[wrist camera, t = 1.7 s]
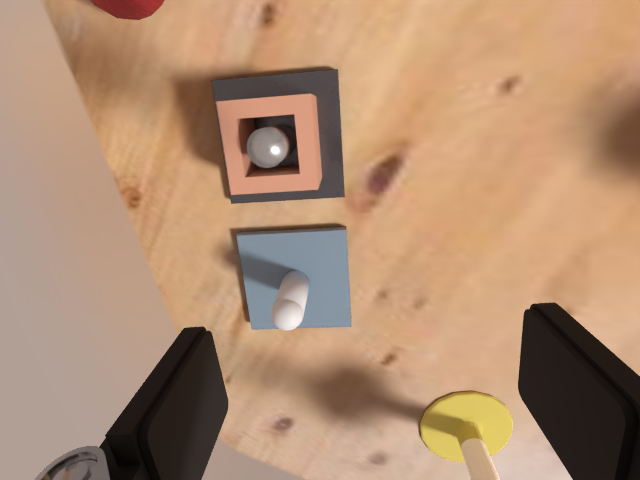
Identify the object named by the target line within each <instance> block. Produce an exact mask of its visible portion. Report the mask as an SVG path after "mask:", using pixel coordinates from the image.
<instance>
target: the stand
mask: <svg viewBox="0 0 640 480" xmlns="http://www.w3.org/2000/svg"><path fill="white" fill-rule="evenodd" d="M212 87H213V93H214V100H215V106H216V112H217V118H218V124H219V131H220V137H221V143H222V149H223V155H224V162H225V168H226V174H227V180H228V186H229V192H230V199H231V204H234V203H251V202H268V201H285V200H302V199H319V198H336V197H345V194H344V175H343V156H342V137H341V118H340V99H339V80H338V69H335V70H324V71H313V72H302V73H290V74H279V75H268V76H257V77H246V78H235V79H223V80H212ZM299 94H313V95H315V96H316V100H317V113H318V127H319V141H320V154H321V168H322V179H321V182H320V185H319V188H318V190H304V191H287V192H271V193H254V194H238V195H231V191H230V185H229V178H228V172H227V166H226V160H225V153H224V147H223V141H222V135H221V129H220V122H219V116H218V110H217V104H216V101H228V100H240V99H252V98H264V97H276V96H288V95H299ZM254 123H255V131H254V132H253V133H252V134H251V135H250V137H249V138H248V141H247V153H248V156H249V158H250V159H251V160H252V162H253V163H255V164H256V165H258V166H260V167H263V168H271V167H274V166H286V165H299V158H298V148H297V137H296V126H295V115H294V114H292V115H280V116H267V117H255V118H254Z"/></svg>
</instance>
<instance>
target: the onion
mask: <svg viewBox="0 0 640 480" xmlns="http://www.w3.org/2000/svg"><path fill="white" fill-rule="evenodd" d="M91 1H92V2H93V3H94V5H96V6H98V7H99V8H101V9H103V10H104V11H106V12H108V13H109V14H111V15H113V16H115V17H116V18H122V19H133V20H140V19H143V18H146V17H148V16H151V15H152V14H153V13H154V12H155V11H156V10H157V9H158V8H159V7H160V6H161V5H162V4H163V2H164V0H91Z"/></svg>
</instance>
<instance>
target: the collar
mask: <svg viewBox="0 0 640 480" xmlns="http://www.w3.org/2000/svg"><path fill="white" fill-rule="evenodd" d="M216 104H217V110H218V116H219V122H220V129H221V135H222V141H223V147H224V153H225V160H226V166H227V172H228V178H229V185H230V191H231V195H238V194H254V193H271V192H287V191H304V190H318V188H319V185H320V182H321V179H322V168H321V154H320V141H319V127H318V113H317V100H316V96H315V95H313V94H299V95H288V96H276V97H264V98H252V99H240V100H228V101H216ZM292 114H294V115H295V126H296V137H297V148H298V158H299V165H286V166H274V167H271V168H263V167H260V166H258V165H256V164H255V163H253V162H252V160H251V159H250V158H249V156H248V153H247V141H248V138H249V137H250V135H251V134H252V133H253V132H254V131H255V123H254V118H255V117H267V116H280V115H292Z"/></svg>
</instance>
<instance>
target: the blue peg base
mask: <svg viewBox="0 0 640 480" xmlns="http://www.w3.org/2000/svg"><path fill="white" fill-rule="evenodd" d="M237 242H238V248H239V254H240V261H241V267H242V273H243V279H244V285H245V291H246V298H247V304H248V310H249V316H250V322H251V329H252V330H254V329H282V330H292V329H295V328H325V327H351V307H350V288H349V269H348V251H347V232H346V227H330V228H310V229H291V230H272V231H253V232H239V233H238V234H237Z"/></svg>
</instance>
